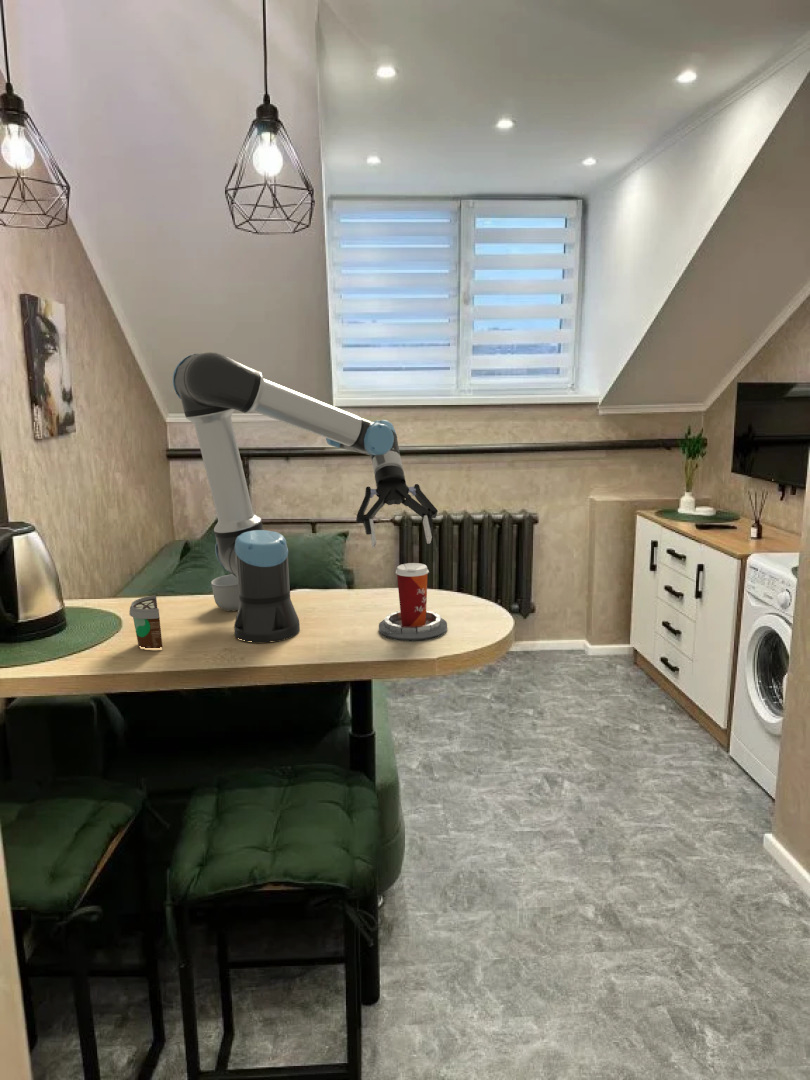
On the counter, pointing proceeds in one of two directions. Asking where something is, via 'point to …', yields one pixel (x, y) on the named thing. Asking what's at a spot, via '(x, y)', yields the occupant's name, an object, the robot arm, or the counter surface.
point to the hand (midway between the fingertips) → (402, 542)
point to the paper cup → (412, 593)
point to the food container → (147, 622)
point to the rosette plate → (412, 628)
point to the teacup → (226, 592)
